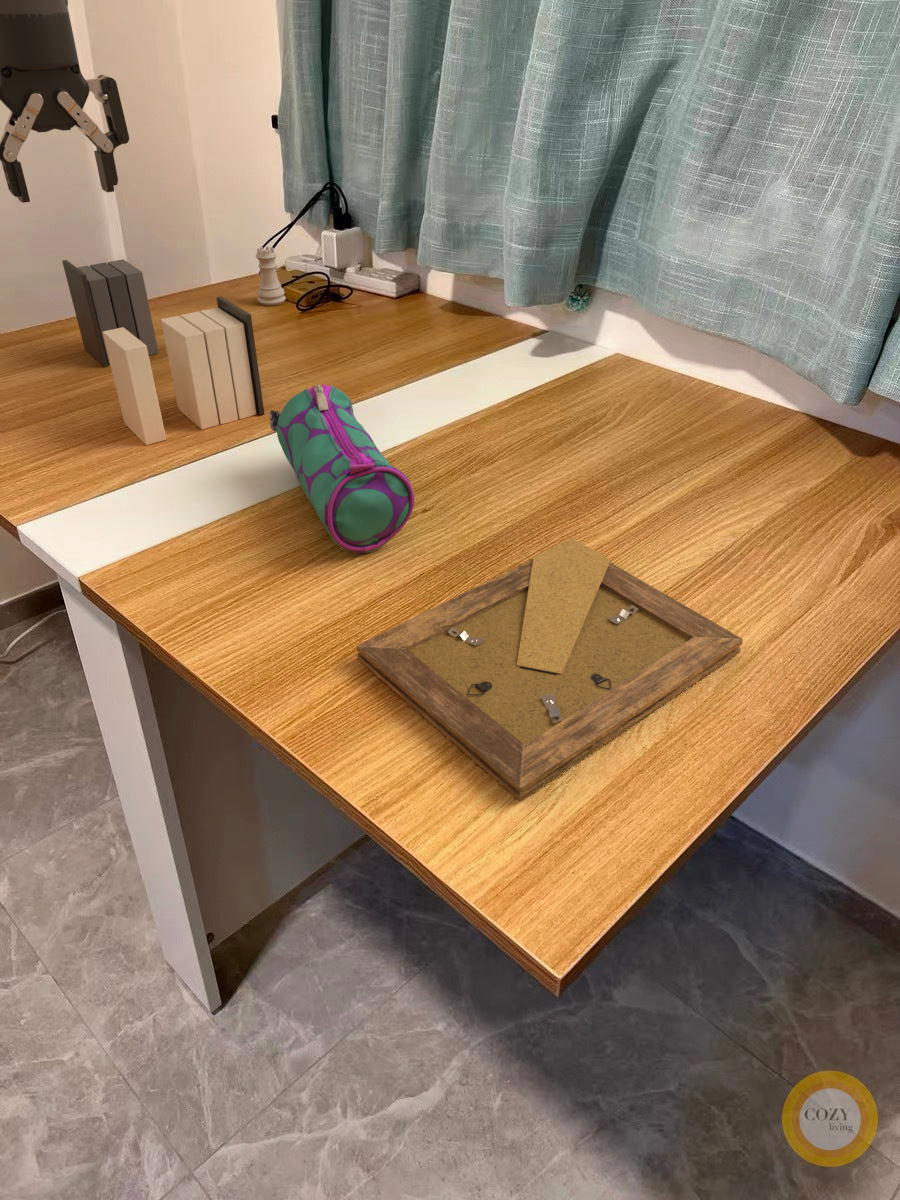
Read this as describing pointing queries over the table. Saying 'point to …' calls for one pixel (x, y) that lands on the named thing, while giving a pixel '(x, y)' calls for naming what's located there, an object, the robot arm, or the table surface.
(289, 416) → the pencil case
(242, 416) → the white books
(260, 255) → the rook chess piece
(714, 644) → the picture frame
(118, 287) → the grey books
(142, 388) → the white book
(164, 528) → the table surface
